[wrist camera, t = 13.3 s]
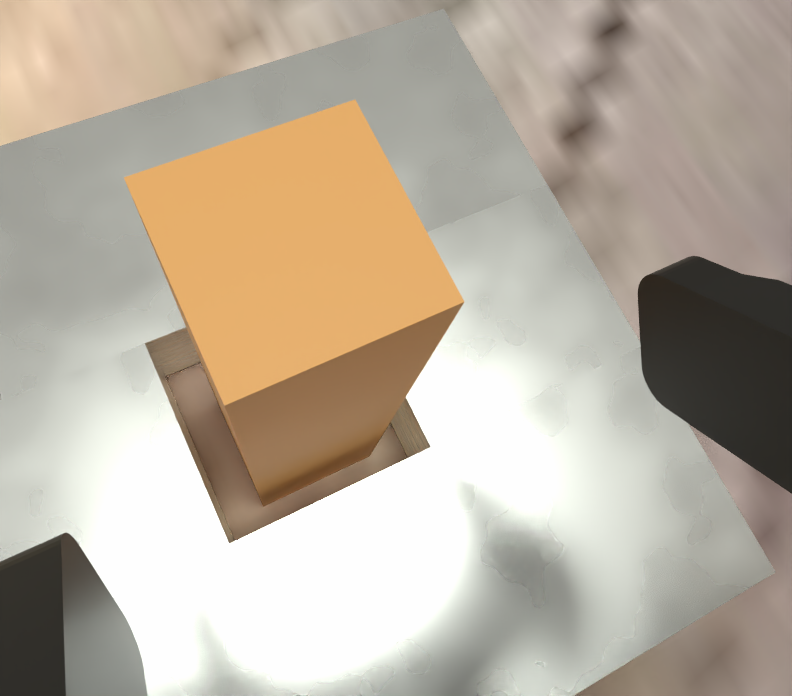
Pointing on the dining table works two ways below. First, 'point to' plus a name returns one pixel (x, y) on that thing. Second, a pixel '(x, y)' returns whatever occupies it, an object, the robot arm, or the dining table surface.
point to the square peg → (299, 288)
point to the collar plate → (413, 422)
